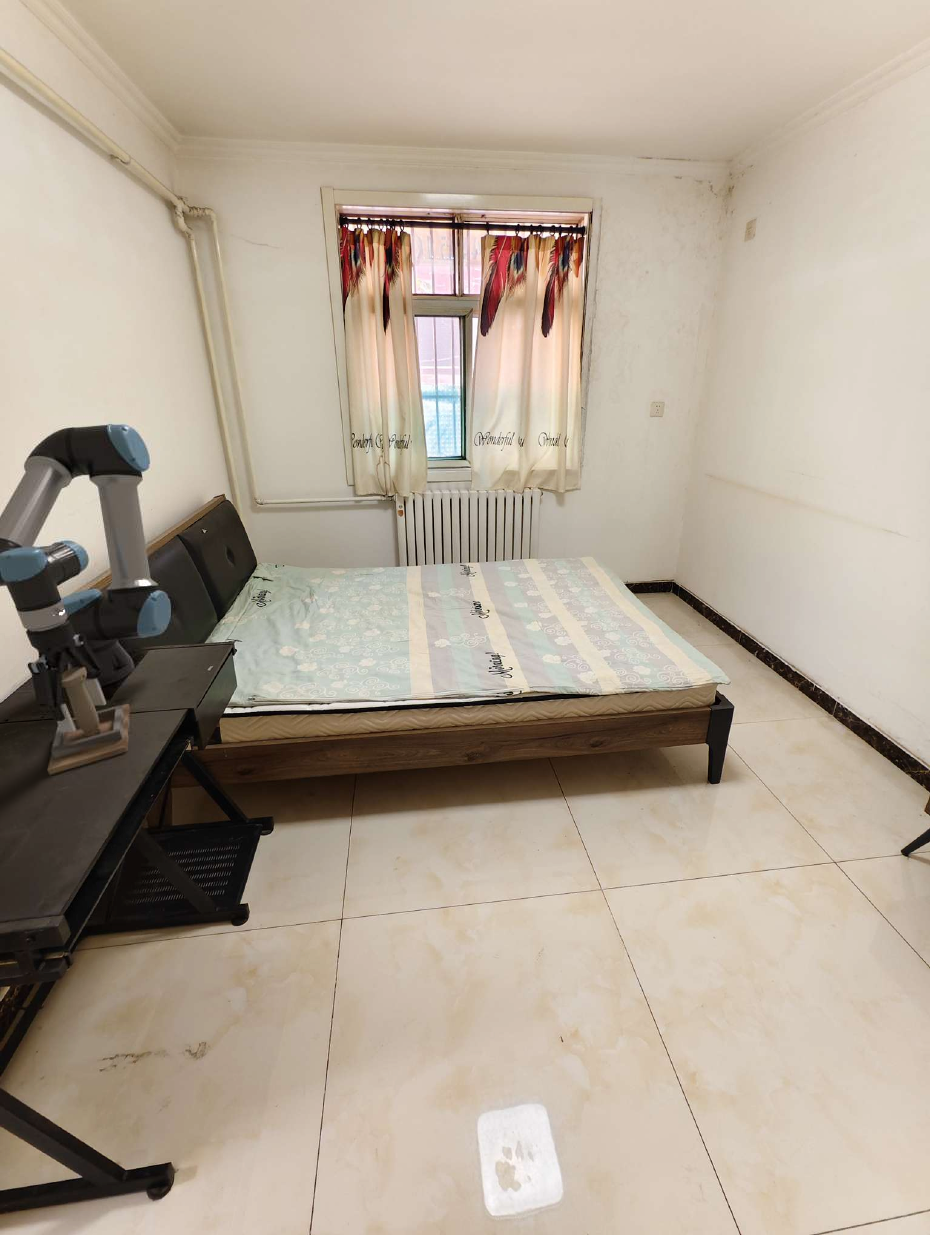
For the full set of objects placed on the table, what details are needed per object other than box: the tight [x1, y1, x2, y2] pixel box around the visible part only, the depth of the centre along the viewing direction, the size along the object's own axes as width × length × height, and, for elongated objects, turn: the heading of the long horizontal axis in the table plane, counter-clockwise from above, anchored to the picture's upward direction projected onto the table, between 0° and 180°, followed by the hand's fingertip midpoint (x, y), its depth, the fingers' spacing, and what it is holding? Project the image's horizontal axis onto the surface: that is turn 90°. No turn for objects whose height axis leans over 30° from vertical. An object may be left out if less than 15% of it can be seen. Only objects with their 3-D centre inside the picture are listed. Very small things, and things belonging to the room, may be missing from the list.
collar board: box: [47, 703, 131, 776], centre depth 123 cm, size 20×14×3 cm
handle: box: [62, 667, 101, 737], centre depth 120 cm, size 5×6×15 cm
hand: (84, 717), depth 122 cm, fingers open, 9 cm apart
